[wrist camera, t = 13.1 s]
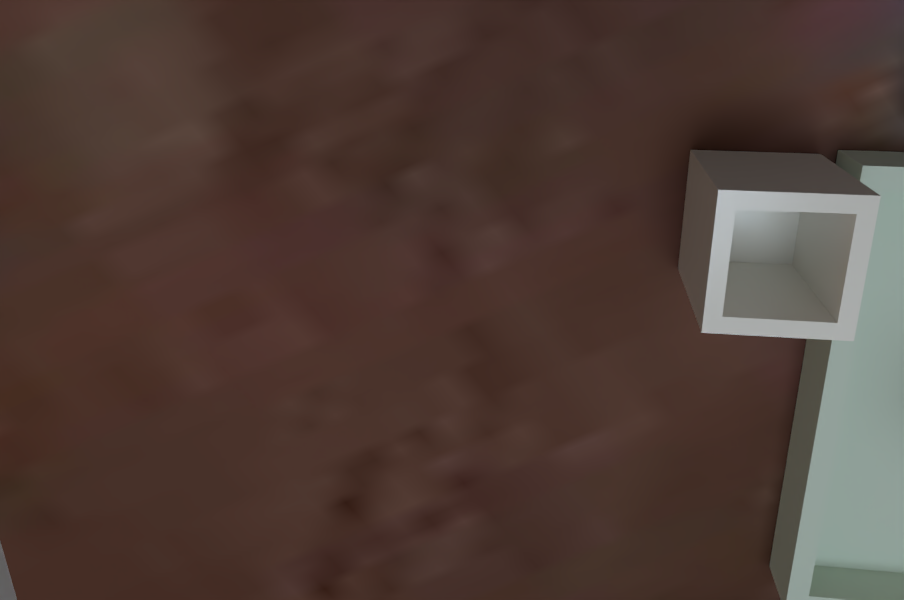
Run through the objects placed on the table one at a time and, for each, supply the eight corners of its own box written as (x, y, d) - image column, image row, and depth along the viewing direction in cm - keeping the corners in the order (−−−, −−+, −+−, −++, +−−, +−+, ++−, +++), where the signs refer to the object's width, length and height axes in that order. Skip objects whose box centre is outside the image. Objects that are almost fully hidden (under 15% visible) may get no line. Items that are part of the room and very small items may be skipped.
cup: (690, 149, 39) (718, 189, 31) (820, 153, 38) (881, 195, 30) (678, 268, 41) (701, 332, 33) (801, 274, 40) (853, 341, 32)
